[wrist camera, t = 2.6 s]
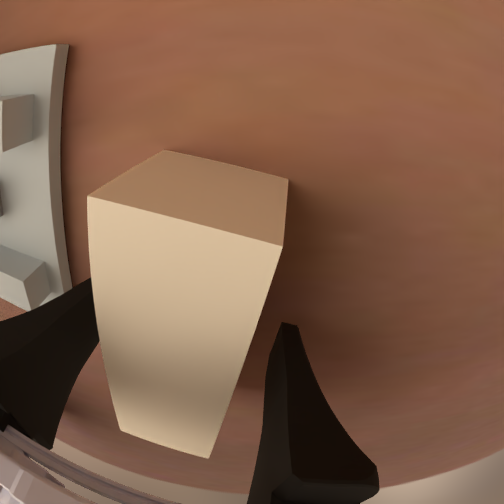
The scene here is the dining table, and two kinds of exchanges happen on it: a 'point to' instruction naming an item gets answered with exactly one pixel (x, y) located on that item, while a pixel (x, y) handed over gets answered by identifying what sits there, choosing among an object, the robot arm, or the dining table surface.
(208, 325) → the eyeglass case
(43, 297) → the display stand
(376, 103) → the dining table surface
